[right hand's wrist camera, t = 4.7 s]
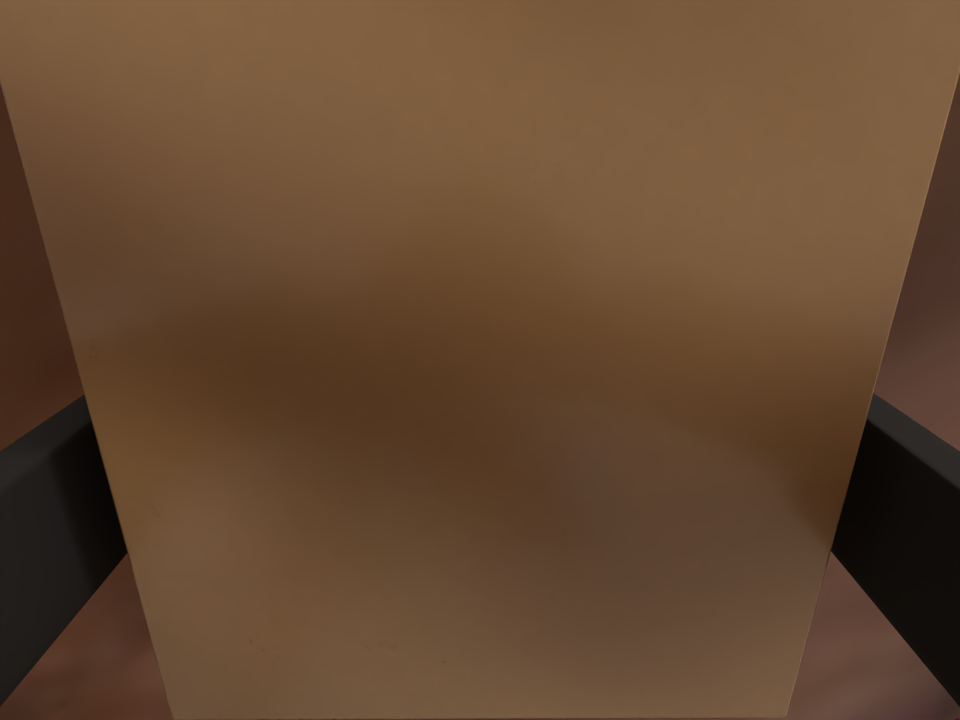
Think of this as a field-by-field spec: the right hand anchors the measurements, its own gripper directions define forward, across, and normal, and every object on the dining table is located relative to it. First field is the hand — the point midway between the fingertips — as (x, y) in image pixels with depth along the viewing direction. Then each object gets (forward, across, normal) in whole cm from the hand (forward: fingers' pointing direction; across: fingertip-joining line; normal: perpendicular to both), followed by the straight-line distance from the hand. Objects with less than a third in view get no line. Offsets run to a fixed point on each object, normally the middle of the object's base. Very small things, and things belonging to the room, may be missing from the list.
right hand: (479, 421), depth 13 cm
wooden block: (+7, 0, -2) cm, 7 cm away
